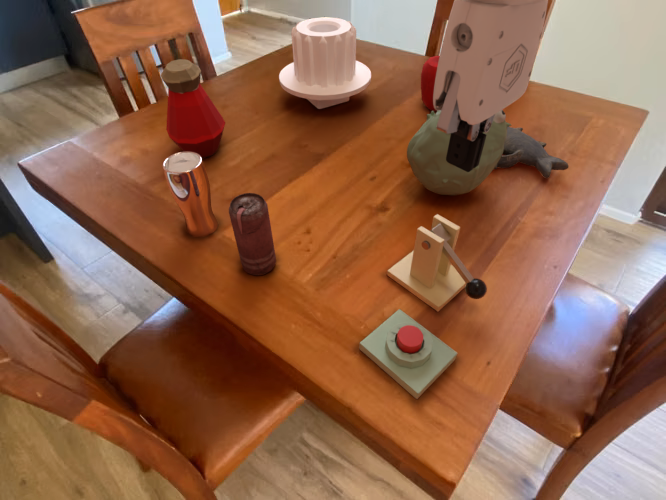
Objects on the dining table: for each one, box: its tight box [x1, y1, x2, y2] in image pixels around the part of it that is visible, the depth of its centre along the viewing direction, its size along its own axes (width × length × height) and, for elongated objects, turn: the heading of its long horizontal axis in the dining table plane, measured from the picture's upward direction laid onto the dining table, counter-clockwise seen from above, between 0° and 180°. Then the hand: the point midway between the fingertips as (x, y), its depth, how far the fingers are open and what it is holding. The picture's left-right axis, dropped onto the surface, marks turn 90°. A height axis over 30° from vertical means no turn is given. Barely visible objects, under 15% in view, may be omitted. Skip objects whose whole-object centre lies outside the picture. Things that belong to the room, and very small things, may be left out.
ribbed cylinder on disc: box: [278, 16, 372, 110], centre depth 115 cm, size 25×25×19 cm
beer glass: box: [162, 151, 219, 238], centre depth 79 cm, size 7×7×15 cm
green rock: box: [406, 109, 512, 196], centre depth 85 cm, size 16×19×20 cm
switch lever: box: [429, 224, 488, 300], centre depth 67 cm, size 13×3×3 cm
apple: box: [420, 55, 440, 112], centre depth 113 cm, size 11×10×14 cm
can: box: [228, 192, 277, 276], centre depth 72 cm, size 6×6×14 cm
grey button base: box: [358, 308, 458, 400], centre depth 63 cm, size 11×9×4 cm
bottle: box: [160, 59, 226, 160], centre depth 98 cm, size 16×14×20 cm
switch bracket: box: [386, 213, 466, 312], centre depth 70 cm, size 11×9×12 cm
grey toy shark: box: [493, 126, 569, 179], centre depth 98 cm, size 5×25×15 cm
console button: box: [397, 325, 423, 353], centre depth 61 cm, size 4×4×2 cm
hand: (461, 163), depth 48 cm, fingers closed
